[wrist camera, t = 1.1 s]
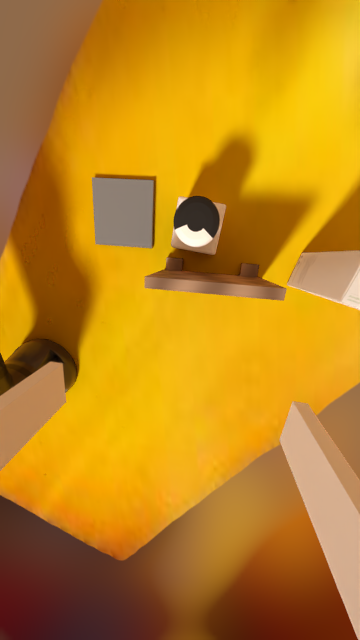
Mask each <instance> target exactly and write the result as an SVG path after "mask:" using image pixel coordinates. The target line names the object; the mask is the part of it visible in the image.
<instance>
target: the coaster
mask: <svg viewBox="0 0 360 640" xmlns="http://www.w3.org/2000/svg"><path fill="white" fill-rule="evenodd" d="M92 186H93V204H94V222H95V241H96V244H101V245H115V246H128V247H142V248H153V215H154V181H153V180H136V179H113V178H92Z"/></svg>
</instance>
